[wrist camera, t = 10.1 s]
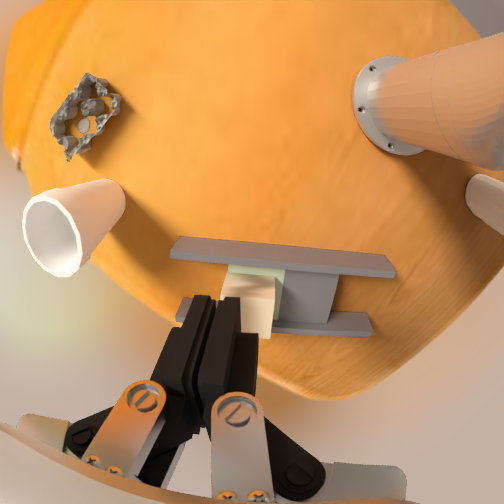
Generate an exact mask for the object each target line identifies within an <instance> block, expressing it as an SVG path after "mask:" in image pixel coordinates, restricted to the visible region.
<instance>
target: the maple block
mask: <svg viewBox="0 0 504 504" xmlns="http://www.w3.org/2000/svg"><path fill="white" fill-rule="evenodd" d="M225 296H227V297H240V306H241V332H246V333H258V334H259V338H263V339H270V335H271V327H272V320H273V312H274V304H275V276H267V275H254V274H242V273H231V272H227V274H226V277H225V281H224V284H223V288H222V291H221V295H220V300H224V298H225Z"/></svg>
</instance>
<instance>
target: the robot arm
mask: <svg viewBox="0 0 504 504" xmlns="http://www.w3.org/2000/svg"><path fill="white" fill-rule="evenodd" d="M369 68H371V69H372V71H370V69H369ZM352 107H353V112H354V115H355V117H356V120H357V123H358V124H359V126H360V128H361V129H362V131H363V132H364V134H365V135H366V136H367V137H368V138H369V140H371V141H372V142H373V143H374V144H375V145H376V146H378V147H380V148H382V149H383V150H385V151H388V152H390V153H394V154H397V155H407V156H408V155H414V154H418V153H420V152H423V151H424V150H426V149H427V150H430V151H433V152H437V153H440V154H443V155H446V156H449V157H452V158H455V159H458V160H461V161H464V162H467V163H470V164H473V165H476V166H479V167H481V168H485V169H488V170H494V171H501V170H504V32H501V33H499V34H496V35H493V36H490V37H486V38H482V39H479V40H475V41H472V42H469V43H465V44H461V45H457V46H454V47H450V48H446V49H443V50H440V51H436V52H433V53H430V54H426V55H423V56H420V57H417V58H414V59H411V60H408V59H406V58H402V57H399V56H384V57H380V58H377V59H375V60H372V61H371V62H369V63H367V64H366V65H365V66H364V67H363V68H362V69H361V70H360V72H359V73H358V75H357V76H356V78H355V81H354V84H353V88H352ZM359 108H361V112H359V111H358V109H359ZM388 143H389V144H390V146H389V147H388ZM258 342H259V334H258V333H246V332H241V306H240V297H227V296H225V298H224V300H219V302H218V305H217V309H216V301H215V300H211V297H210V296H208V295H195V296H194V298H193V300H192V303H191V305H190V307H189V310H188V312H187V315H186V317H185V320H184V322H183V325H182V327H181V328H179V327H173V328H172V329H171V331H170V333H169V335H168V338H167V340H166V342H165V345H164V347H163V350H162V352H161V354H160V357H159V359H158V362H157V364H156V366H155V369H154V371H153V374H152V376H151V379H150V381H149V380H143V381H137V382H135V383H133V384H131V385H129V386H128V387H127V388H126V390H125V391H124V392H123V394H122V395H121V397H120V398H119V400H118V401H117V403H116V404H115V406H113V407H110V408H108V409H106V410H103V411H101V412H99V413H96V414H94V415H92V416H89V417H87V418H84V419H82V420H79V421H77V422H75V423H73V424H72V423H70V422H69V421H66V420H60V419H54V418H49V417H44V416H39V415H35V414H27V415H24V416H23V417H21V419H20V420H19V422H18V424H17V427H16V428H15V427H13V426H11V425H8V424H6V423H2V422H0V504H419V503H415V502H411V501H405V497H406V487H407V479H406V475H405V473H404V472H403V471H402V470H401V469H400V468H398V467H395V466H386V465H363V464H362V465H361V464H349V463H339V462H334V463H333V464H331V463H323V462H319V461H318V460H317V459H316V458H315V457H313V456H312V455H311V454H310V453H308V452H307V451H306V450H304V449H303V448H302V447H300V446H299V445H298V444H297V443H295V442H294V441H293V440H292V439H290V438H289V437H288V436H287V435H285V434H284V433H283V432H282V431H281V430H279V429H278V428H277V427H276V426H275V425H273V424H272V423H271V422H270V421H269V420H268V419H266V418H265V417H264V416H263V409H262V406H261V403H260V402H259V401H258V400H257V399H256V398H255V390H256V379H257V366H258ZM200 427H202V428H205V427H206V429H207V432H208V435H209V438H210V441H211V481H212V482H211V483H212V498H207V497H201V496H195V495H190V494H184V493H179V492H174V491H170V490H166V488H167V486H168V484H169V481H170V479H171V477H172V475H173V472H174V470H175V468H176V465H177V463H178V461H179V459H180V456H181V454H182V452H183V450H184V447H185V443H186V441H188V440H189V439H191V438H192V435H193V434H199V432H200Z"/></svg>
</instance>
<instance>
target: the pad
mask: <svg viewBox="0 0 504 504" xmlns="http://www.w3.org/2000/svg"><path fill="white" fill-rule="evenodd" d="M228 272H231V273H242V274H254V275H267V276H275V304H274V312H273V320H278V314H279V308H280V301H281V295H282V288H283V281H284V274H285V270H284V269H273V268H262V267H251V266H241V265H230V264H228Z"/></svg>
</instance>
